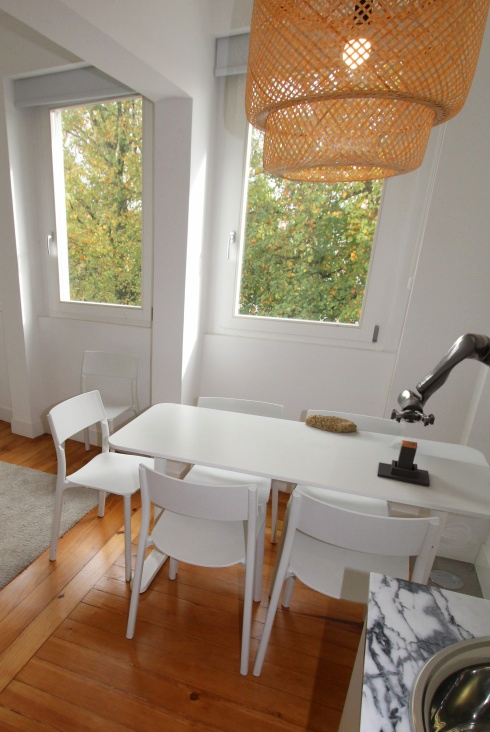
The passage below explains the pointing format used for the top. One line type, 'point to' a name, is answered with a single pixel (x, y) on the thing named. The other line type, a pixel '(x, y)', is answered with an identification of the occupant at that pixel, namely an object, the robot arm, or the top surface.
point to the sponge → (331, 423)
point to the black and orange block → (407, 455)
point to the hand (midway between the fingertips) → (412, 422)
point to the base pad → (403, 473)
